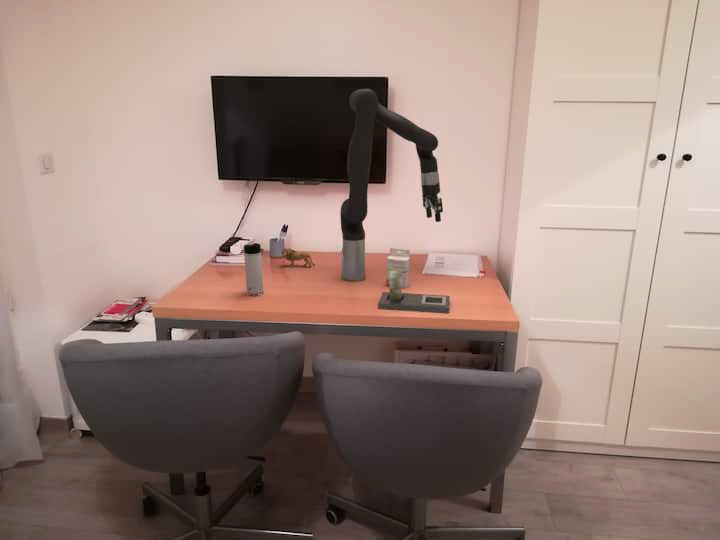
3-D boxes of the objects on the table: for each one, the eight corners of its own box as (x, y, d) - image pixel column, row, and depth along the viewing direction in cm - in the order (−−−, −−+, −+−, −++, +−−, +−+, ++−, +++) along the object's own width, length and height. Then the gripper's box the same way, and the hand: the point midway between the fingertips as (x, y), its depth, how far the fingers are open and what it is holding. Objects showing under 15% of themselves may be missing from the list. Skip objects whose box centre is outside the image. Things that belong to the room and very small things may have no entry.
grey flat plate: (378, 308, 191) (378, 302, 190) (382, 296, 202) (382, 291, 201) (448, 313, 186) (448, 307, 185) (449, 300, 197) (449, 295, 197)
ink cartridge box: (385, 286, 213) (386, 250, 209) (388, 282, 218) (389, 247, 213) (406, 288, 211) (407, 252, 206) (409, 284, 215) (410, 249, 211)
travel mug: (250, 297, 201) (246, 246, 195) (245, 292, 207) (241, 242, 201) (266, 294, 204) (262, 244, 198) (260, 289, 210) (257, 240, 204)
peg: (388, 305, 194) (389, 273, 190) (390, 300, 198) (390, 270, 194) (400, 306, 193) (401, 274, 189) (401, 301, 197) (402, 270, 193)
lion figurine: (282, 268, 236) (281, 249, 233) (282, 265, 241) (282, 246, 238) (315, 268, 236) (314, 248, 234) (315, 264, 242) (314, 245, 239)
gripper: (415, 181, 227) (418, 218, 232) (429, 186, 214) (433, 225, 220) (431, 178, 229) (434, 214, 234) (446, 183, 216) (449, 221, 221)
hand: (433, 219), depth 227 cm, fingers open, 8 cm apart
